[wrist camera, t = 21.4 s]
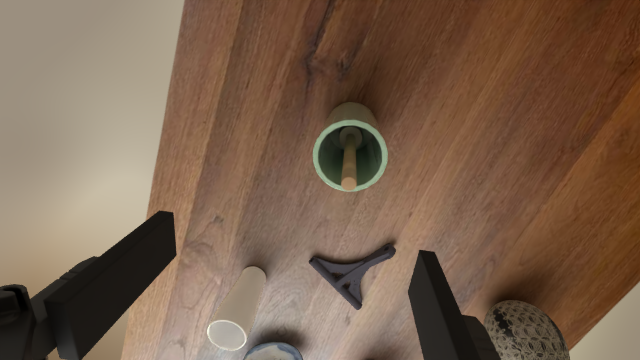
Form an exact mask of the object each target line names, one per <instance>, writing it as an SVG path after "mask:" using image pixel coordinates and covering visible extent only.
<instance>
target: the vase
mask: <svg viewBox="0 0 640 360" xmlns="http://www.w3.org/2000/svg"><path fill="white" fill-rule="evenodd" d="M351 125H355V126H359V127H361V128H362V136H363V139H362V143H361V144H360V146H359V147H357V148H356V172H357V186H356V188H355V189H353V190H351V191H359V190H362V189H365V188H367V187H369V186H370V185H372V184H374V183H375V182H376V181H377V180H378V179H379V178H380V176H381V175H382V174H383V172H384V170H385V167H386V165H387V157H388V150H387V147H386V144H385V140H384V138H383V136H382V133H381V131H380V128H379V126H378V123H377V121H376V118H375V116H374V115H373V113H372V112H371V110H370V109H369V108H367V107H366V106H364V105H363V104H360V103H356V102H347V103H343V104H341V105H339V106H337V107H336V108H334V109H333V110H332V112H331V113H330V114H329V116H328V117H327V119H326V121H325V124H324V126H323V128H322V130H321V132H320V134H319V136H318V138H317V140H316V142H315V146H314V149H313V163H314V166H315V169H316V171H317V173H318V175H319V176H320V177H321V178H322V180H323V181H324V182H325V183H327V184H328V185H330V186H331V187H333V188H335V189H338V190H342V191H347V190H344V189H343V188H342V186H341V179H342V169H343V160H344V150H345V148H344V147H343V146H342V145H341V144H340V142H339V134H340V129H341V127H342V126H351Z"/></svg>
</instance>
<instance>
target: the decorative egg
mask: <svg viewBox="0 0 640 360" xmlns="http://www.w3.org/2000/svg"><path fill="white" fill-rule="evenodd" d="M484 327H485V328H486V330H487V332H488V334H489V336H490V338H491V341H492V342H493V344H494V346H495V348H496V351H497V352H498V354H499V356H500V358H501V360H570V356H569V351H568V347H567V344H566V342H565V339H564V337H563V335H562V334H561V332H560V330H559V329H558V327H557V326H556V324H555V323H554V322H553V321H552V320H551V319H550V318H549V317H548V316H547V315H546V314H545V313H544V312H543V311H541V310H540V309H538V308H537V307H535V306H533V305H531V304H529V303H526V302H523V301H518V300H506V301H502V302H499V303H497V304H495V305H494V306H493V307H492V308H491V309H490V310H489V311H488V313H487V314H486V317H485V320H484Z"/></svg>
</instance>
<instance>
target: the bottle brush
mask: <svg viewBox="0 0 640 360" xmlns="http://www.w3.org/2000/svg"><path fill="white" fill-rule="evenodd" d="M362 139H363V136H362V128H361V127H359V126H355V125H351V126H342V127H341V129H340V134H339V142H340V144H341V145H342V146H343V147H344V148H345V150H344V160H343V169H342V179H341V186H342V188H343V189H344V190H347V191H351V190H353V189H355V188H356V186H357V172H356V148H357V147H359V146H360V144H361V143H362Z"/></svg>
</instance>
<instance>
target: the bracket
mask: <svg viewBox="0 0 640 360" xmlns="http://www.w3.org/2000/svg"><path fill="white" fill-rule="evenodd" d="M395 252H396V249H395V248H394V247H393V246H392V245H391V244H387V245H385V246H383V247H382V248H380V249H379V250H377V251H376V252H374V253H373V254H371V255H370V256H368V257H367V258H365V259H364V260H362V261H360V262H357V263H352V264H337V263H332V262H328V261H325V260H323V259H320V258H316V257H312V258H311V259H310V260H309V263H310V264H311V265H312V266H313V267H314V268H315V269H316V270H317V271H318V272H319V273H320V274H321V275H322V276H323V277H324V278H325V279H326V280H327V281H328V282H329V283H330V284H331V285H332V286H333V287H334V288H335V289H336V290H337V291H338V292H339V293H340V294H341V295H342V296H343V297H344V298H345V299H346V300H347V301H348V302H349V303H350V304H351V305H352V306H353V307H354V308H355V309H356V310H359V309H360V308H361V307H362V300H361V297H360V292H359V286H360V281H361V279H362V277H363V275H364V274H365V272H366V271H367V270H368V269H369V268H370V267H372V266H374V265H376V264H378V263H380V262H383V261H385V260H387V259H390V258H392V257H393V256H394V254H395ZM334 272H339V273H342V274H341V275H339V276H338V277H335V276H334V275H333V274H332V273H334ZM348 281H350V286H349V288H346V287H345V286H344V284H345V283H346V282H348Z"/></svg>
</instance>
